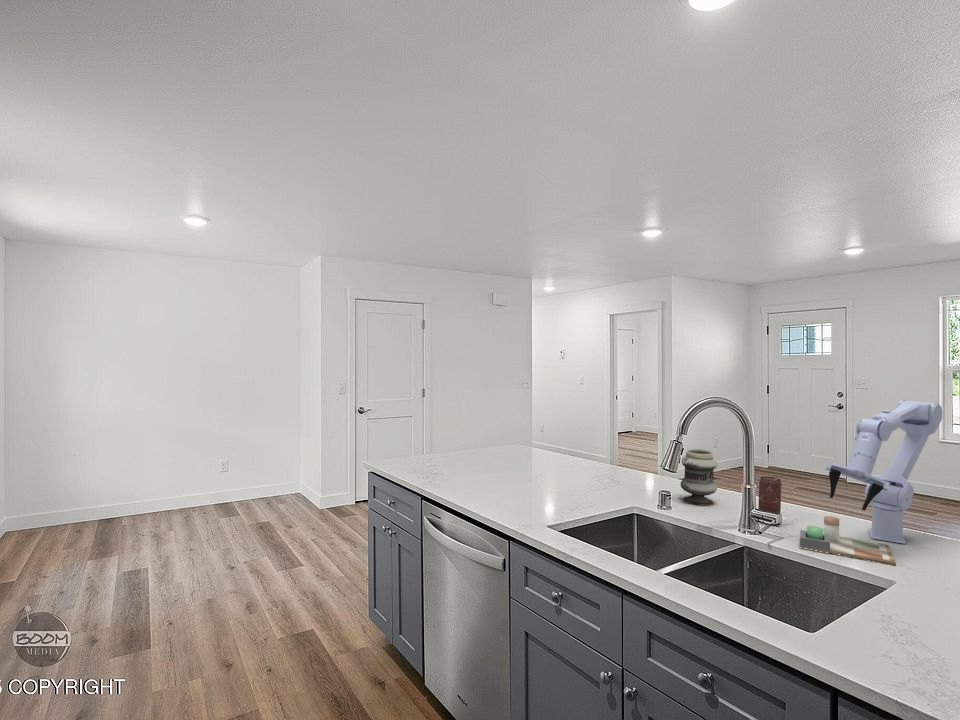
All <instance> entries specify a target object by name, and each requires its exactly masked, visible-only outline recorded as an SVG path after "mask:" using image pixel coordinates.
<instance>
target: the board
mask: <svg viewBox="0 0 960 720" xmlns="http://www.w3.org/2000/svg"><path fill="white" fill-rule="evenodd" d="M801 531H804V530H802V529H801V530H800V532H799V533H800V535H801ZM805 531H806V532H807V530H805ZM800 535H799V536H800ZM800 547H801V546H800V545H799V548H800ZM801 548H807V547H801ZM807 549H812V550H817V551H822V552H828V553H833V554H840V555H845V556H850V557H855V558H860V559H859V560H861V559H865V560H864V561H866V560H870V561H869V562H872V561H875V562H874V563H877V562H880V563H879V564H883V563H884V565H888V564H889V565H888V566H894V567H896V566H897V562H896V560H895V558H894V555H893V552H892V550H891V547H890V545H889V544H886V543H880V542H877V541H876V542H875V541H871V540H864V539H858V538H857V539H856V538H853V537H852V538H850V537H845V536H839V541H830V552H829V551H824V550H818V549H813V548H807ZM822 552H821V553H822ZM833 554H832V555H833ZM850 557H849V558H850ZM855 558H854V559H855Z"/></svg>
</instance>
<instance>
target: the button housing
mask: <svg viewBox="0 0 960 720" xmlns="http://www.w3.org/2000/svg"><path fill="white" fill-rule="evenodd" d="M800 531H801V530H800ZM806 531H807V530H803V531H801V535H799V547H800V546H801V547H807V548H813V549H818V550H824V551H829V552H830V537H829V535H824V533H823V540H819V539H814V538H808V537H807V532H806Z"/></svg>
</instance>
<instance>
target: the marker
mask: <svg viewBox="0 0 960 720" xmlns="http://www.w3.org/2000/svg"><path fill="white" fill-rule="evenodd" d="M823 534H824V535H829V537H830V541H839V537H840V518H839V517H835V516H830V515H827V516H826V515H825V516H823Z"/></svg>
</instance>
